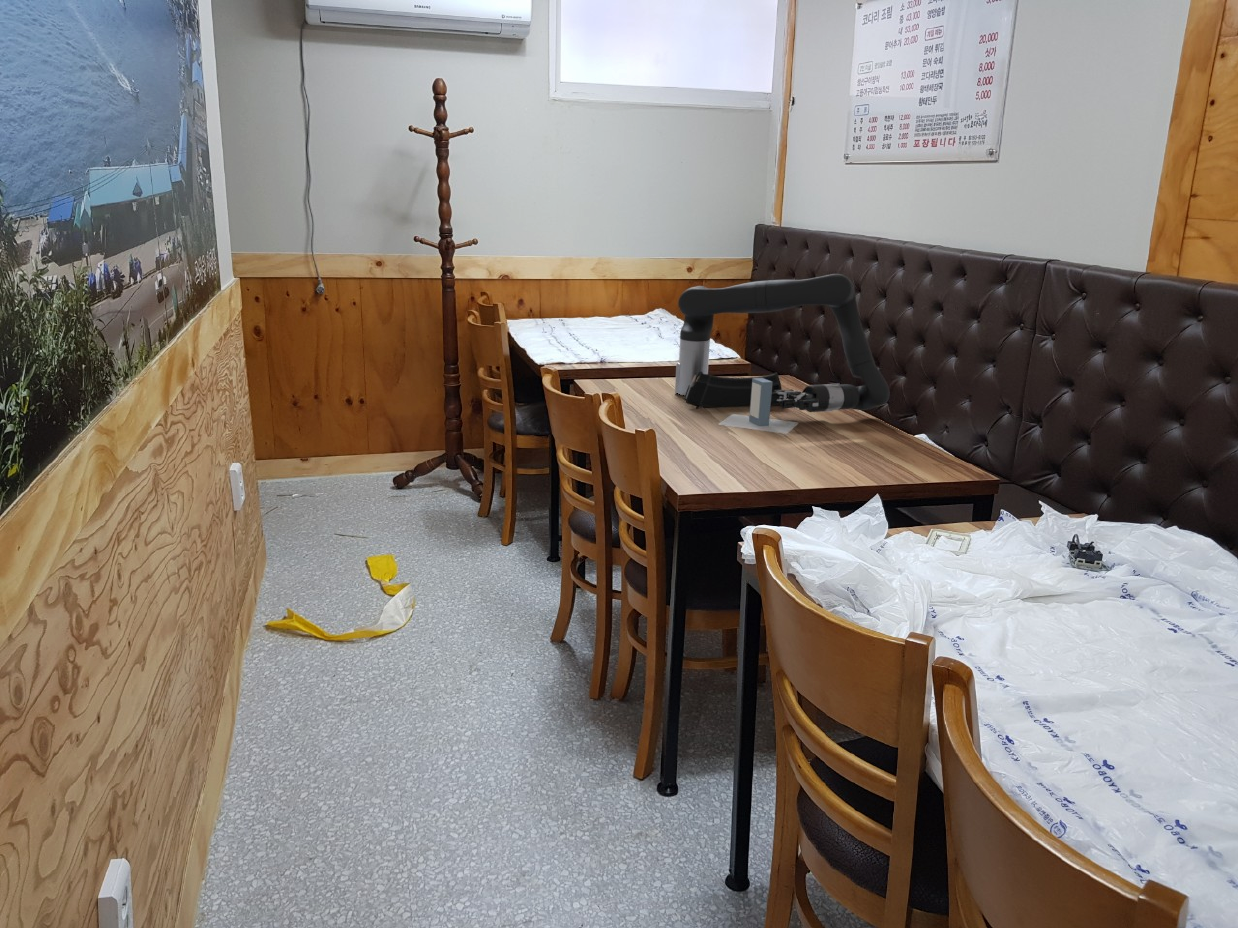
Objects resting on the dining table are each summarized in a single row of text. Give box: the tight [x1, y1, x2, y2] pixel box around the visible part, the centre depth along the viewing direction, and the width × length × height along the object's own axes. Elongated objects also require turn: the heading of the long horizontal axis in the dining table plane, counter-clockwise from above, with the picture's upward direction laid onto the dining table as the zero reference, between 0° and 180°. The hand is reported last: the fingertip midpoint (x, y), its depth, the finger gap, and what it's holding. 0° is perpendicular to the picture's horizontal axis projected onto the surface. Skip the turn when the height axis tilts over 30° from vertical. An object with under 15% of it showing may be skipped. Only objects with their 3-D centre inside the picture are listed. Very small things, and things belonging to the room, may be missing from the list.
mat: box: [717, 413, 800, 435], centre depth 241 cm, size 19×14×1 cm
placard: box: [748, 378, 772, 426], centre depth 239 cm, size 3×6×12 cm, turn 21°
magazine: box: [683, 371, 783, 410], centre depth 260 cm, size 17×3×30 cm
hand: (772, 400), depth 240 cm, fingers open, 8 cm apart
